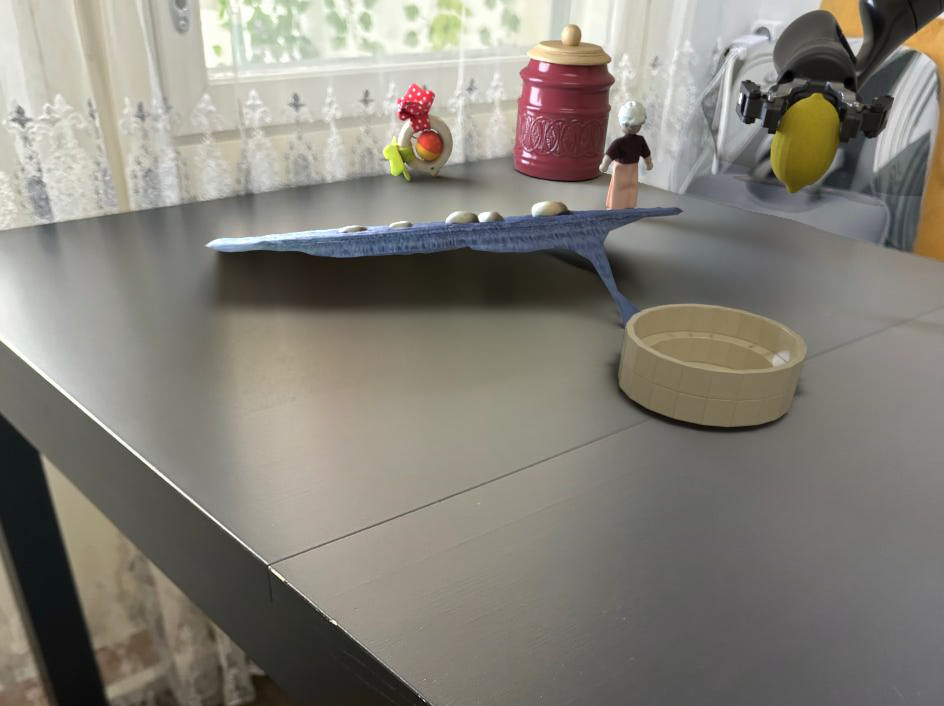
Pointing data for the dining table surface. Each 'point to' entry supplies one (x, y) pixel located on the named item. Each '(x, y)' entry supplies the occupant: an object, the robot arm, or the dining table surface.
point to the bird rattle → (419, 136)
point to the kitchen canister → (563, 109)
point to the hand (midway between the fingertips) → (810, 124)
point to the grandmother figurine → (627, 158)
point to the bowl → (710, 364)
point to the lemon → (805, 142)
